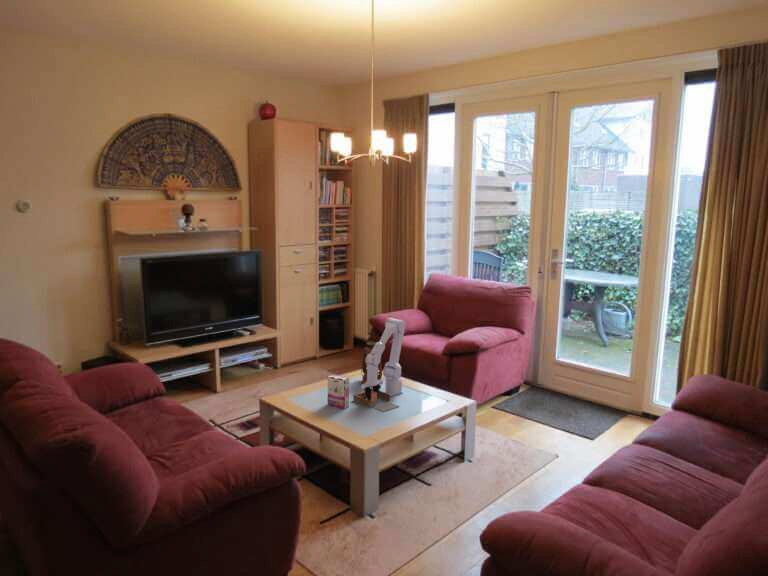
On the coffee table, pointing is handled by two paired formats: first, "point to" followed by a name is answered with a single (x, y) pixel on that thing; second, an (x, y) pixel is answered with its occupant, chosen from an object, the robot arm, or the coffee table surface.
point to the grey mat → (386, 406)
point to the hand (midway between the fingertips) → (371, 398)
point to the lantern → (364, 366)
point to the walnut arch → (360, 396)
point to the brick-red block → (373, 396)
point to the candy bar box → (338, 391)
